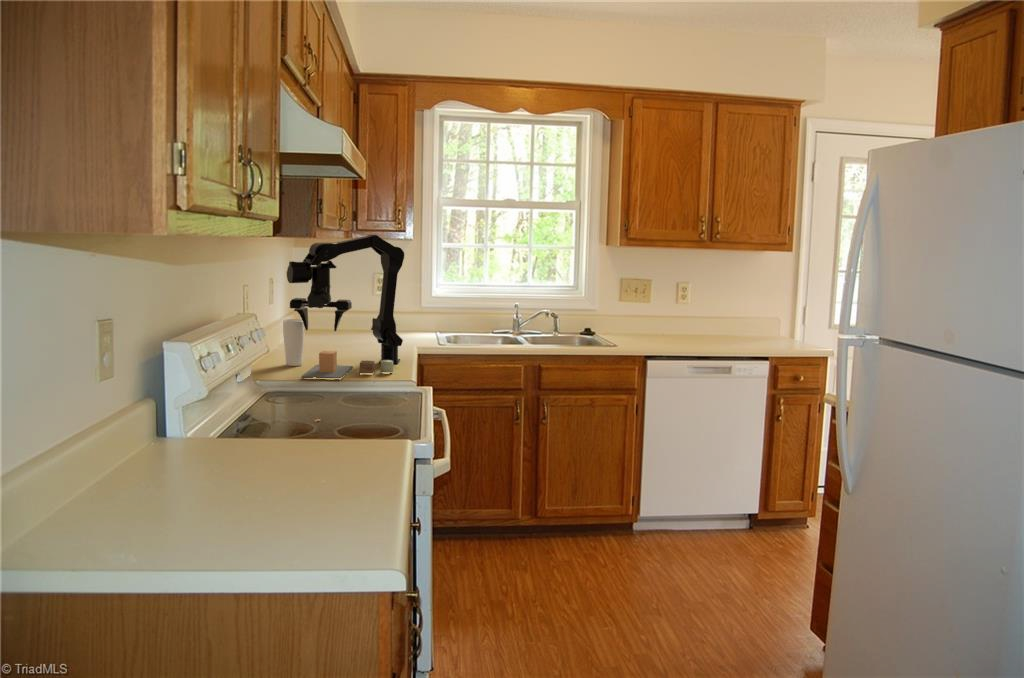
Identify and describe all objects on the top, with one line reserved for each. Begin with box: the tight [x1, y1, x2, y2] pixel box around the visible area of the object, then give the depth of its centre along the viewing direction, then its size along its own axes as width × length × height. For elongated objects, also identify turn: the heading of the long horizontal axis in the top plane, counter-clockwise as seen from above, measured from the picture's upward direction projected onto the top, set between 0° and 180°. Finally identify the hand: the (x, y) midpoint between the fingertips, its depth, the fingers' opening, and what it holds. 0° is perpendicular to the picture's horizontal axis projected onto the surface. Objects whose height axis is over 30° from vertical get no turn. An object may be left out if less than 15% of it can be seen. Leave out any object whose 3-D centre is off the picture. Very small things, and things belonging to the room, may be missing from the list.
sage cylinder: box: [380, 360, 394, 373], centre depth 254 cm, size 4×4×4 cm
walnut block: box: [359, 360, 375, 374], centre depth 252 cm, size 4×4×4 cm
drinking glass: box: [282, 318, 305, 367], centre depth 261 cm, size 7×7×15 cm
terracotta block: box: [318, 350, 338, 373], centre depth 249 cm, size 4×4×6 cm
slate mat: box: [300, 364, 354, 378], centre depth 250 cm, size 18×12×1 cm, turn 0°
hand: (321, 330), depth 256 cm, fingers open, 9 cm apart
